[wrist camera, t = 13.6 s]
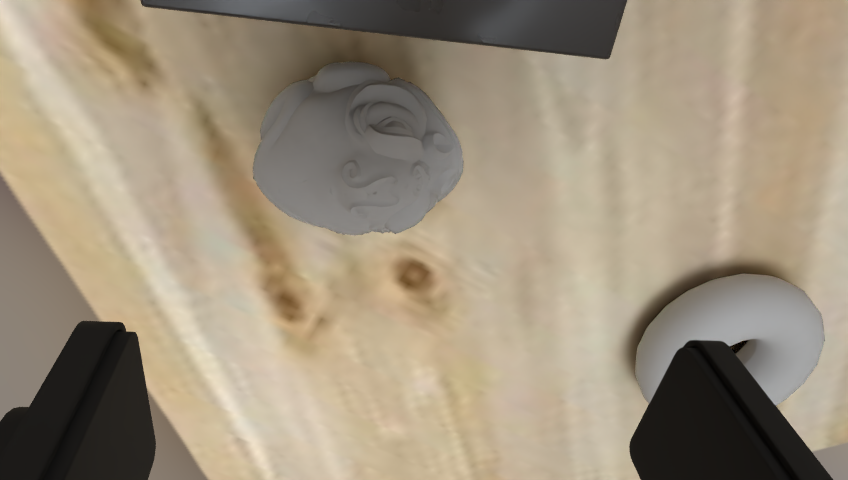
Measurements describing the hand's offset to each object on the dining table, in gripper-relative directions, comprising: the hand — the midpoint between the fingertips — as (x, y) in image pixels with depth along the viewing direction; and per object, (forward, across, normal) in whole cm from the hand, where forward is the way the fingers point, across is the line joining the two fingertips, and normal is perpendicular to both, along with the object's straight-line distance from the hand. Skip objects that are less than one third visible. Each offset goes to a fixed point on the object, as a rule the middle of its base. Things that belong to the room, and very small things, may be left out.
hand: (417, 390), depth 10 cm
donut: (+16, -20, +12) cm, 28 cm away
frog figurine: (+15, +1, +1) cm, 15 cm away
